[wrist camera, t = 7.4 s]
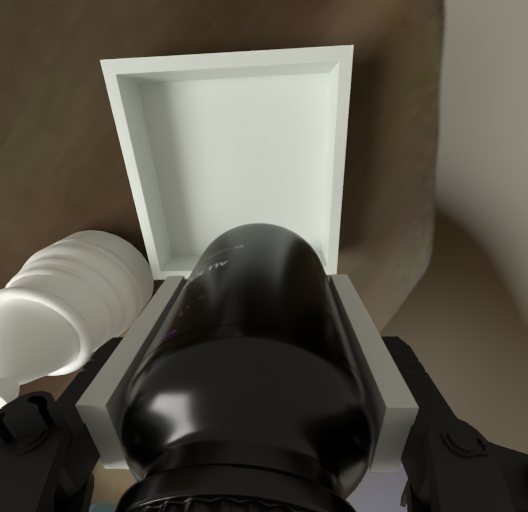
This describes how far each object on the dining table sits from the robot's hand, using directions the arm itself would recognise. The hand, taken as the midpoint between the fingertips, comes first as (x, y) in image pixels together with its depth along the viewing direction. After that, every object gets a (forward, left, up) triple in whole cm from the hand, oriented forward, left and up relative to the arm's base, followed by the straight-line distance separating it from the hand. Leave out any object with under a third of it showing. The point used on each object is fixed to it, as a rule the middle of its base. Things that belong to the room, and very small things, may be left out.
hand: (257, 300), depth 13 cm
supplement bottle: (0, 0, -2) cm, 2 cm away
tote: (+3, +2, -20) cm, 20 cm away
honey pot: (-9, +21, -20) cm, 31 cm away
